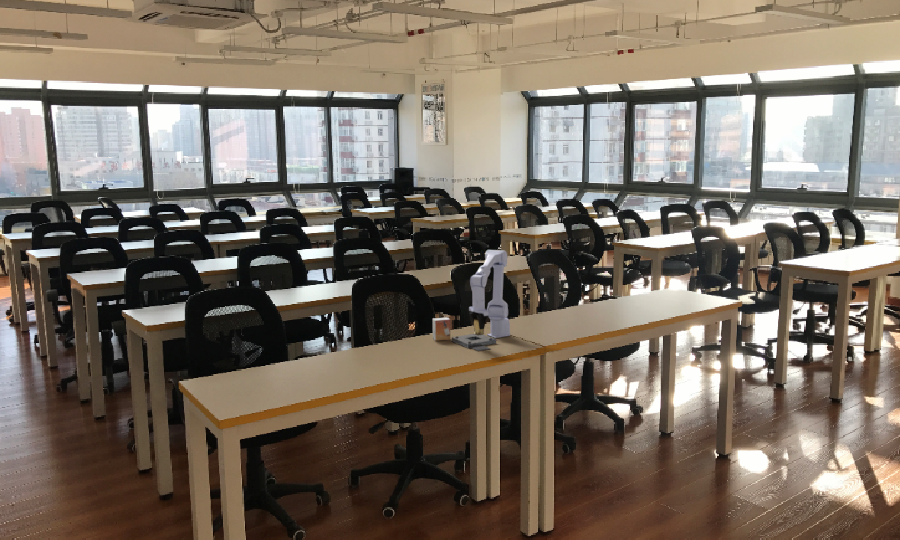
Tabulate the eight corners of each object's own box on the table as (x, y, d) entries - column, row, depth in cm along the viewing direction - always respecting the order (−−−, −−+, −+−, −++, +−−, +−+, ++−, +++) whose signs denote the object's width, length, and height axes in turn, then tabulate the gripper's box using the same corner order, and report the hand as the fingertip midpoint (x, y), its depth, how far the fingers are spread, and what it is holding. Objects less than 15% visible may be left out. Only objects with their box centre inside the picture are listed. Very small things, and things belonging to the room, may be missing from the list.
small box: (435, 341, 355) (434, 320, 353) (432, 338, 360) (432, 318, 358) (450, 339, 357) (450, 319, 355) (447, 337, 362) (447, 317, 360)
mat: (482, 346, 343) (482, 345, 343) (490, 349, 337) (490, 348, 337) (470, 348, 340) (470, 347, 340) (478, 351, 334) (478, 350, 334)
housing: (479, 336, 361) (478, 332, 361) (496, 343, 348) (496, 338, 347) (451, 341, 354) (451, 336, 353) (468, 348, 340) (468, 343, 339)
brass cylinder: (480, 332, 343) (480, 318, 342) (485, 334, 339) (485, 319, 338) (472, 333, 340) (472, 319, 339) (477, 335, 336) (477, 321, 335)
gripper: (463, 298, 341) (464, 326, 343) (479, 303, 329) (479, 332, 331) (476, 297, 345) (476, 324, 347) (492, 301, 332) (492, 330, 334)
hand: (478, 328), depth 339 cm, fingers closed on brass cylinder, 5 cm apart
